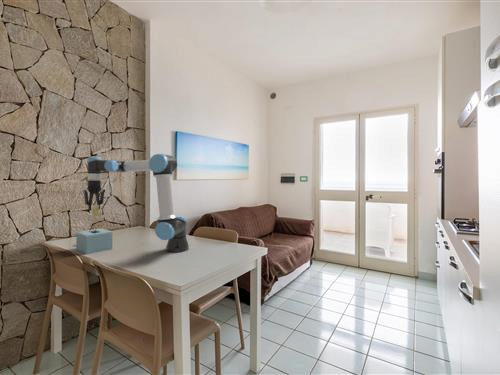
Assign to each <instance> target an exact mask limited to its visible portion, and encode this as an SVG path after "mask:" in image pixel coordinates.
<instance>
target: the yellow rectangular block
mask: <svg viewBox="0 0 500 375" xmlns="http://www.w3.org/2000/svg"><path fill="white" fill-rule="evenodd" d="M92 206H93V215H90V216H91V217H98V216H99V215H100V214H99V213H100V210H99V207H97V206H96V205H92Z"/></svg>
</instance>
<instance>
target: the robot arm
mask: <svg viewBox="0 0 500 375" xmlns="http://www.w3.org/2000/svg"><path fill="white" fill-rule="evenodd" d="M176 169H178V161H177V159H176V158H175V157H174V156H173V155H169V154H164V153H155V154H154V155H152V156H151V157H150V158H149V159H144V160H143V159H142V160H140V159H139V160H124V161H123V160H113V159H107V160H106V159H101V157H100V156H99V157H98V156H88V157H87V180H88V181H87V187H86V189H83V190H82V192H83V196H84V197H83V198H84V203H85V204H84V205H87V206H88V211H89V216H91V215H93V206H94V205H93V199H94V195H95V201H96V204H95V206H97V207H99V211H100V210H101V205H104V201H105V200H104V198H105V196H104V195H105V192H106V190H105V189H103V188H102V181H101V179H102V178H101V177H102V176H101V174H102V173H101V172H109V173H110V172H111V173H113V172H115V173H125V172H126V173H129V172H150V171H151V172H152V174H153V176H152V177H154V178H155V180H156V190H157V191H156V192H157V202H158V212H159V216H158V218H156V220H157V224H156V226H155V227H154V232H155V235H156V236H157V238H158V239H160V240H162V241H167V240H168V241H167V242H166V243H167V244H166V245H165V251H166V250H167V251H166V252H169V251H171V252H170V253H181V252H180V251H182V252H186V251H188V250H189V249H190V248H189V246H190V245H189V242H188V239H187V222H188V221H187V217H186V216H178V215H177V216H176V215H175V214H174V204H173V203H174V202H173V195H172V183H171V181H172V180H171V178H172V176H173V172H175V171H176ZM88 192H89V193H88ZM185 250H186V251H185Z"/></svg>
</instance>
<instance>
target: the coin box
mask: <svg viewBox="0 0 500 375" xmlns="http://www.w3.org/2000/svg"><path fill="white" fill-rule="evenodd" d="M105 229H106V228H95V229H88V230H81V231H76V234H75V235H76V237H75V238H76V244H75V245H76V248H75V249H76V251H79V252H81V253H83V254H85V255H89V254H90V255H91V254H94V253H99V252H103V251H104V252H105V251H109V250H113V231H111V230H108V229H106V230H105Z"/></svg>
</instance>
